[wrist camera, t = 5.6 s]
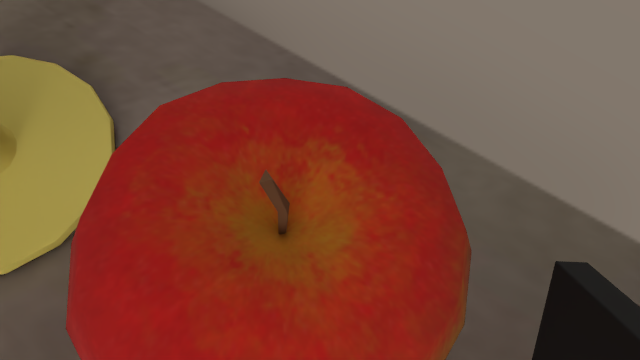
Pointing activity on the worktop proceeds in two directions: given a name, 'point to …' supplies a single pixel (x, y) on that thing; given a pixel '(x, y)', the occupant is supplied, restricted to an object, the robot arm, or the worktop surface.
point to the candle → (46, 155)
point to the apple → (269, 234)
